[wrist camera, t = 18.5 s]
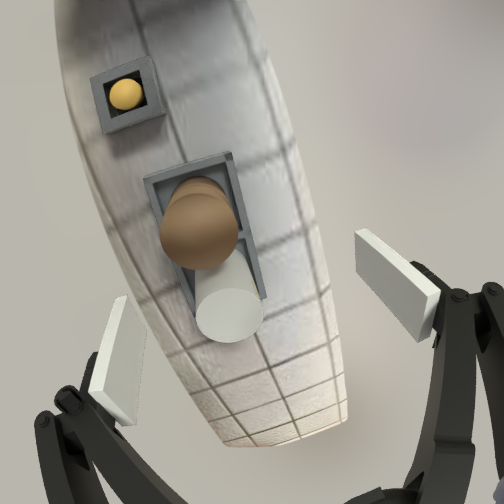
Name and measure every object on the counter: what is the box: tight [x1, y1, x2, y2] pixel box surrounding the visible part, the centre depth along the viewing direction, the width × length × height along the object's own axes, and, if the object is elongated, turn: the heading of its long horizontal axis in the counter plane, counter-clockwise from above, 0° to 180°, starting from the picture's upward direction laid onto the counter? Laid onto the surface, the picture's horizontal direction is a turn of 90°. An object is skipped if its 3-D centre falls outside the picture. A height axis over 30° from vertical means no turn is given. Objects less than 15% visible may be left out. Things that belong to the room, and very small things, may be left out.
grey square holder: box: [90, 55, 166, 134], centre depth 31 cm, size 8×8×4 cm
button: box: [110, 79, 144, 110], centre depth 30 cm, size 4×4×3 cm
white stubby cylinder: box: [195, 249, 264, 343], centre depth 39 cm, size 8×8×12 cm
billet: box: [160, 176, 238, 270], centre depth 34 cm, size 8×8×12 cm
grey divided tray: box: [143, 151, 267, 318], centre depth 42 cm, size 23×12×3 cm, turn 13°
